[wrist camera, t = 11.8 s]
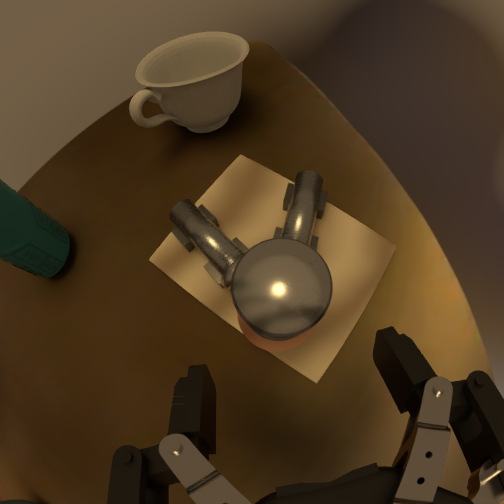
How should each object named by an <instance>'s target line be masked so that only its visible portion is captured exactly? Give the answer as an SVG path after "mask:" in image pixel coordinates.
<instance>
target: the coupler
mask: <svg viewBox="0 0 504 504" xmlns="http://www.w3.org/2000/svg"><path fill="white" fill-rule="evenodd" d="M332 292H333V282H332V277H331V273H330V270H329V268H328V266H327V264H326V262H325V261H324V259H323V258H322V256H321V255H320V254H319V253H318V252H317V251H316V250H315V249H313V248H312V247H311V246H309V245H307V244H305V243H303V242H301V241H298V240H295V239H290V238H273V239H268V240H265V241H262V242H260V243H258V244H256V245H254V246H253V247H251V248H250V249H249V250H248V251H247V252H245V253H244V255H243V256H242V257H241V258H240V260H239V261H238V263H237V264H236V266H235V268H234V271H233V274H232V279H231V296H232V301H233V303H234V306H235V308H236V310H237V312H238V314H239V315H240V317H241V318H242V319H243V320H244V321H245V322H246V324H247V325H248V326H249V327H250V328H251V329H252V330H253V331H254V332H255V333H256V334H258V335H259V336H261V337H263V338H265V339H268V340H272V341H285V340H289V339H292V338H294V337H296V336H298V335H300V334H302V333H304V332H305V331H307V330H309V329H311V328H312V327H313V326H315V325H316V324H317V323H318V322H319V321H320V320H321V319H322V317H323V316H324V315H325V313H326V311H327V309H328V307H329V305H330V302H331V298H332Z"/></svg>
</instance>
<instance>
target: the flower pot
mask: <svg viewBox="0 0 504 504" xmlns="http://www.w3.org/2000/svg"><path fill="white" fill-rule="evenodd" d="M0 504H37V503H34V502H31V501H27V500H6V501H0Z"/></svg>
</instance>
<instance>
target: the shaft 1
mask: <svg viewBox="0 0 504 504" xmlns="http://www.w3.org/2000/svg"><path fill="white" fill-rule="evenodd" d="M170 220H171V221H172V222H173V223H174V224H175V225H176V227H175V228H174V229H172V230H171V232H172V233H173V234H174V236H175V237H176V238H177V239H178V240H179V242H180V243H181V244H182V245H183V246H184V247H185V248H186V249H187V250H188V252H189V253H190V252H191V251H192V250H193V249H194V248H195V247H196V248H197V249H198V250H199V251H200V252H201V253H202V254H203V255H204V257H205V258H206V259H207V260H208V261H209V262H208V263H207V264H205V265H204V266H203V267H204V268H205V270H206V271H207V272H208V273H209V274H210V275H211V277H212V278H213V279H214V280H215V281H216V282H217V283H218V284H219V285H220V286H221V287H222V288H224V287H225V288H226V289H227V290H228V291H231V279H232V274H233V271H234V268H235V266H236V264H237V263H238V261H239V260H240V258H241V257H242V256H243V255H244V253H245V252H247V251H248V250H249V249H248V248H247V247H246V246H245V245H244V244H243V243H242V242H241V241H240V240H239V239H238V238H237V237H235V238H234V239H233V240H231V239H230V238H229V237H228V236H227V235H226V234H225V233H223V232H222V231H221V230H220V229H219V228H218V227H219V224H218V221H217V218H216V217H215V216H214V215H213V214H212V213H211V212H210V211H209V210H208V209H206V208H205V207H204V206H203V205H202V204H201V205H200V206H199V207H197V206H196V205H195V204H194V203H193V202H192V201H191V200H189V199H185V200H182V201H180V202H178V203H177V204H176V205H175V206H174V207H173V209H172V210H171V212H170Z"/></svg>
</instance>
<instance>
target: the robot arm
mask: <svg viewBox="0 0 504 504" xmlns="http://www.w3.org/2000/svg"><path fill="white" fill-rule="evenodd" d="M373 359H374V362H375V365H376V366H377V368H378V370H379V372H380V374H381V376H382V378H383V380H384V382H385V384H386V386H387V388H388V389H389V391H390V393H391V395H392V397H393V399H394V401H395V403H396V405H397V407H398V409H399V411H400V413H401V414H402V413H404V412H407V411H408V412H409V414H410V417H409V420H408V423H407V427H406V430H405V433H404V437H403V440H402V443H401V446H400V449H399V451H398V453H397V455H396V457H395V459H394V462H393V464H392V466H391V467H387V466H382V467H378V466H377V463H373V464H370V465H367V466H364V467H361V468H358V469H355V470H352V471H351V472H349V473H347V474H345V475H343V476H341V477H339V478H337V479H336V480H334V481H332V482H329V483H299V484H293V485H287V486H281V487H276V492H274V493H271V494H269V495H267V496H265V497H263V498H262V499H260V500H259V501H258V502H256V503H255V504H499V503H500V502H501V501H503V500H504V399H503V397H502V396H501V394H500V392H499V391H498V389H497V388H496V386H495V385H494V383H493V381H492V380H491V378H490V377H489V376H488V374H486V373H485V372H483V371H473V372H472V373H470V374H469V376H468V378H467V379H466V380H461V381H454V382H450V381H449V380H448V379H446V378H444V377H438V376H437V375H436V374H435V372H434V371H433V369H432V368H431V366H430V365H429V363H428V362H427V360H426V359H425V357H424V356H423V355H422V354H421V352H420V350H419V349H418V348H417V346H416V345H415V343H414V342H413V340H412V339H411V338H409V337H408V336H406V335H405V334H401V335H399V334H398V333H397V331H396V330H395V329H394V327H392V326H391V327H388V328H384V329H381V330H378V331H377V333H376V338H375V344H374V350H373ZM173 396H174V398H173V402H172V404H173V405H172V408H171V415H170V423H169V430H168V434H167V436H166V437H165V438H164V439H163V440H162V441H161V442H160V444H158V445H156V446H153V447H149V448H145V449H140V450H138V449H137V448H136V447H134V446H130V445H126V446H122V447H120V448H119V449H117V450H116V452H115V453H114V456H113V461H112V468H111V475H110V483H109V492H108V502H107V504H169V498H168V489H169V485H171V484H175V483H179V482H181V483H182V484H183V485H184V487H185V488H186V489H187V493H188V494H189V496H190V497H191V498H192V499H193V500H194V502H195V503H196V504H252V503H251V502H249V501H248V500H247V499H246V498H245V497H244V496H243V495H242V494H241V493H240V492H238V491H237V490H236V489H235V488H234V487H233V486H232V485H231V484H230V483H229V482H228V481H227V480H226V479H225V478H224V477H223V476H222V475H221V474H220V473H219V472H218V471H217V470H216V469H215V468H214V467H213V466H212V465H211V464H210V463H209V454H216V388H215V384H214V382H213V379H212V377H211V375H210V372H209V370H208V367H207V365H206V364H202V365H192V366H189V369H188V377H182V378H180V379H179V381H178V382H177V384H176V385H175V388H174V395H173ZM448 423H450V425H451V427H452V429H453V431H454V434H455V436H456V438H457V440H458V443H459V445H460V447H461V449H462V452H463V454H464V456H465V459H466V461H467V464H468V466H469V469H470V471H471V475H470V477H469V480H468V485H467V490H468V491H469V492H468V496H467V497H464V496H462V495H459V494H456V493H454V492H451V491H448V490H446V489H444V488H441V487H439V486H438V483H439V480H440V477H441V473H442V470H443V466H444V462H445V458H446V454H447V449H448V445H449V440H450V434H451V429H450V428H448Z"/></svg>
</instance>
